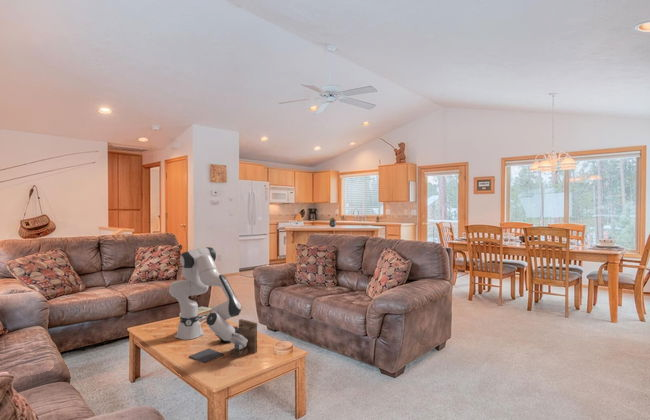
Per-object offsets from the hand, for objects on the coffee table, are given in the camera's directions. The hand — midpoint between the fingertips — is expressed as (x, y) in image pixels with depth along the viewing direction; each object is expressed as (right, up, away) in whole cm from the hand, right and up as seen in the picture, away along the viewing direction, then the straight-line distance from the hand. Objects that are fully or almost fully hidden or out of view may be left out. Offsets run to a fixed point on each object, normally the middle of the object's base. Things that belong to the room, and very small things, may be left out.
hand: (239, 343), depth 222 cm
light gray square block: (0, -6, 0) cm, 6 cm away
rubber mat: (-19, -6, -3) cm, 20 cm away
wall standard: (+1, -6, +1) cm, 6 cm away
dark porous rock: (-11, -6, +23) cm, 27 cm away
